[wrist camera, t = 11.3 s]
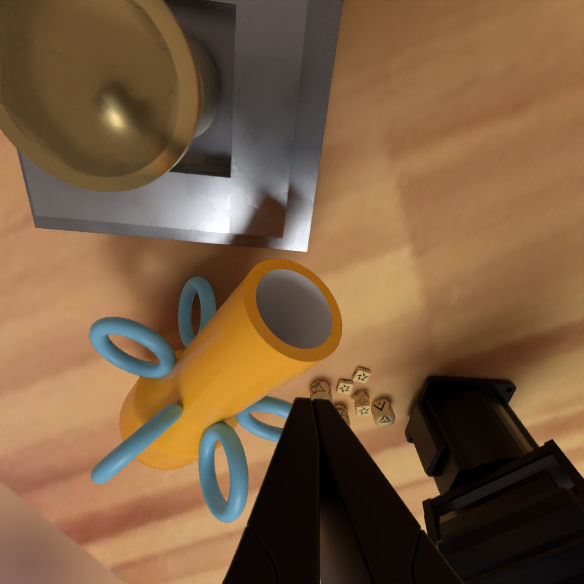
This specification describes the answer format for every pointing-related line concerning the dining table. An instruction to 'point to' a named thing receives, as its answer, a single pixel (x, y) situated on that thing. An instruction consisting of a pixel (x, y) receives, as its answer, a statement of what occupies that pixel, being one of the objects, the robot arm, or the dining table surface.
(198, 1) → the plate
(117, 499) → the dining table surface
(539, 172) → the dining table surface
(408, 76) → the dining table surface
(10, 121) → the bushing
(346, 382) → the mottled tan cylinder cluster
